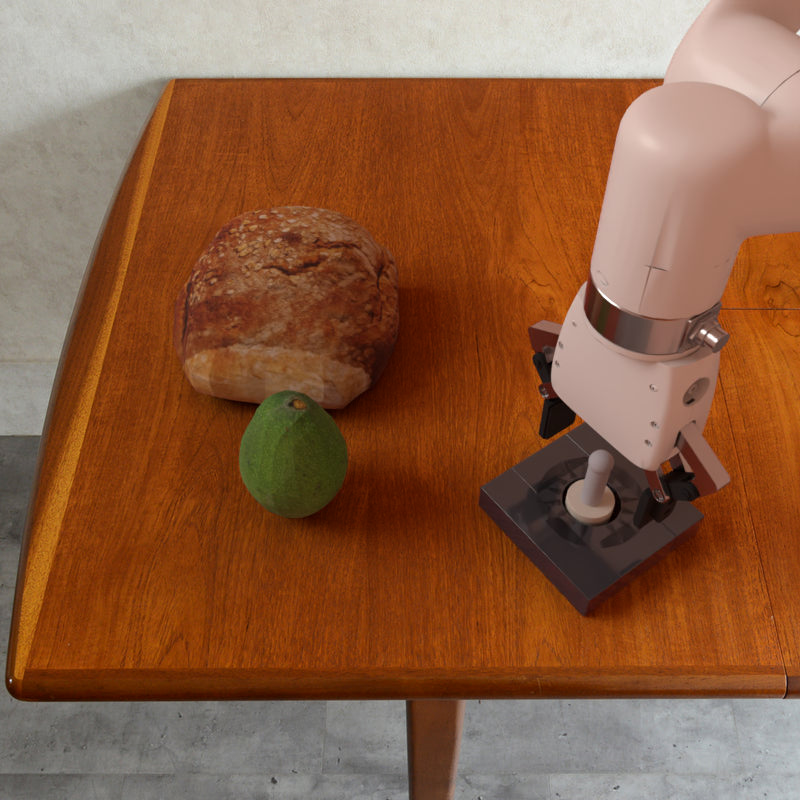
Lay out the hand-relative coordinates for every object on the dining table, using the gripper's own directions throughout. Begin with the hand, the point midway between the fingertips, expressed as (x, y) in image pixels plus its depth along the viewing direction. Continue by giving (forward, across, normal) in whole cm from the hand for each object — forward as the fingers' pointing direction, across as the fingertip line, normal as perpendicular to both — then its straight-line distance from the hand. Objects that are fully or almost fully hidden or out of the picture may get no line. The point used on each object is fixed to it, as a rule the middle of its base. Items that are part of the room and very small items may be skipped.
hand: (601, 471), depth 65 cm
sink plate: (+6, 0, 0) cm, 6 cm away
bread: (+6, +30, +9) cm, 32 cm away
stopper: (+6, 0, 0) cm, 6 cm away
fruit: (+6, +15, +17) cm, 24 cm away
